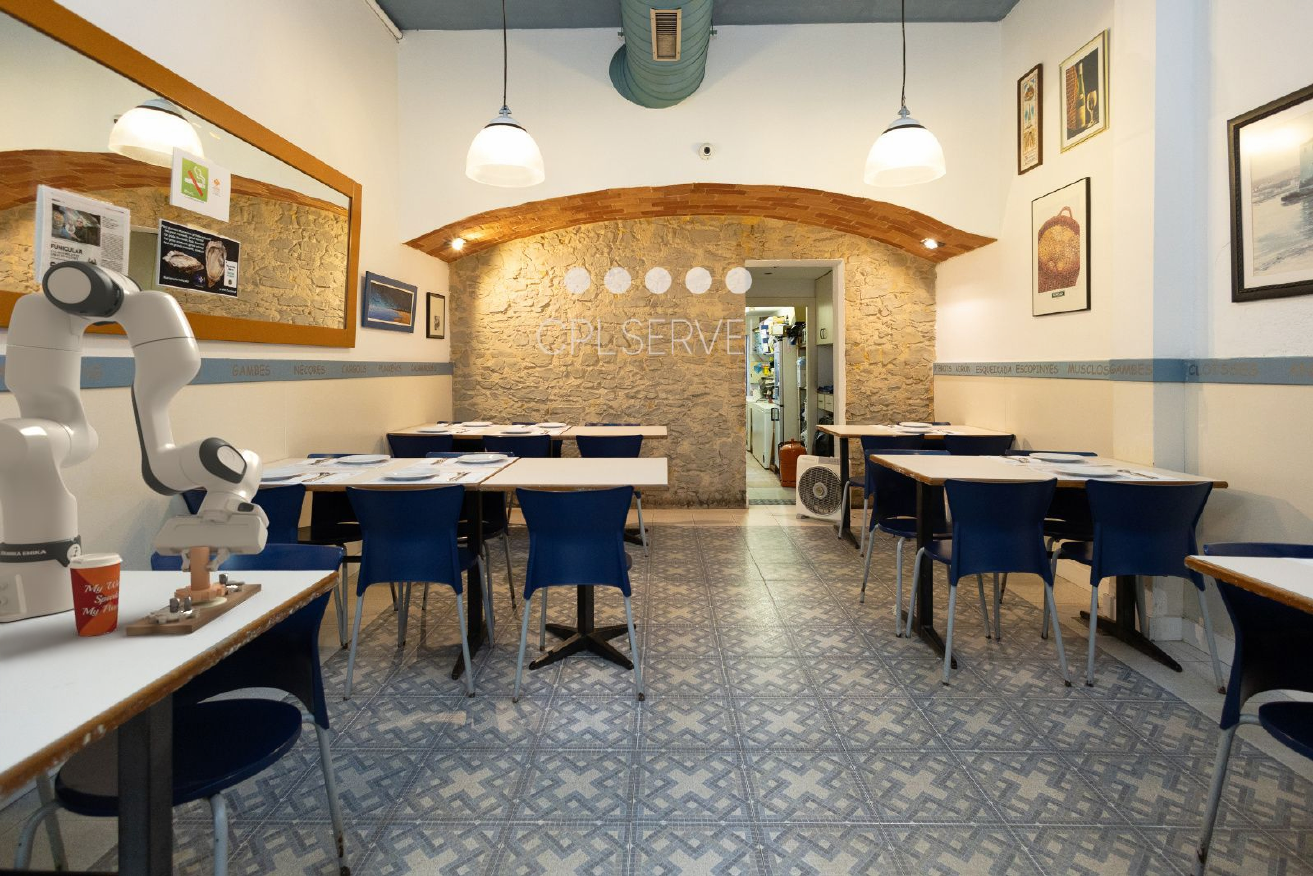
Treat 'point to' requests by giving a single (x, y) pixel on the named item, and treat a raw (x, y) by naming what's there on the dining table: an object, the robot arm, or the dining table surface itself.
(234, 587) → the gear
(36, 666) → the dining table surface
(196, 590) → the idler gear
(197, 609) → the gear
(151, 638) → the dining table surface
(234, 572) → the dining table surface
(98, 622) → the paper cup
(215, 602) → the gear board
